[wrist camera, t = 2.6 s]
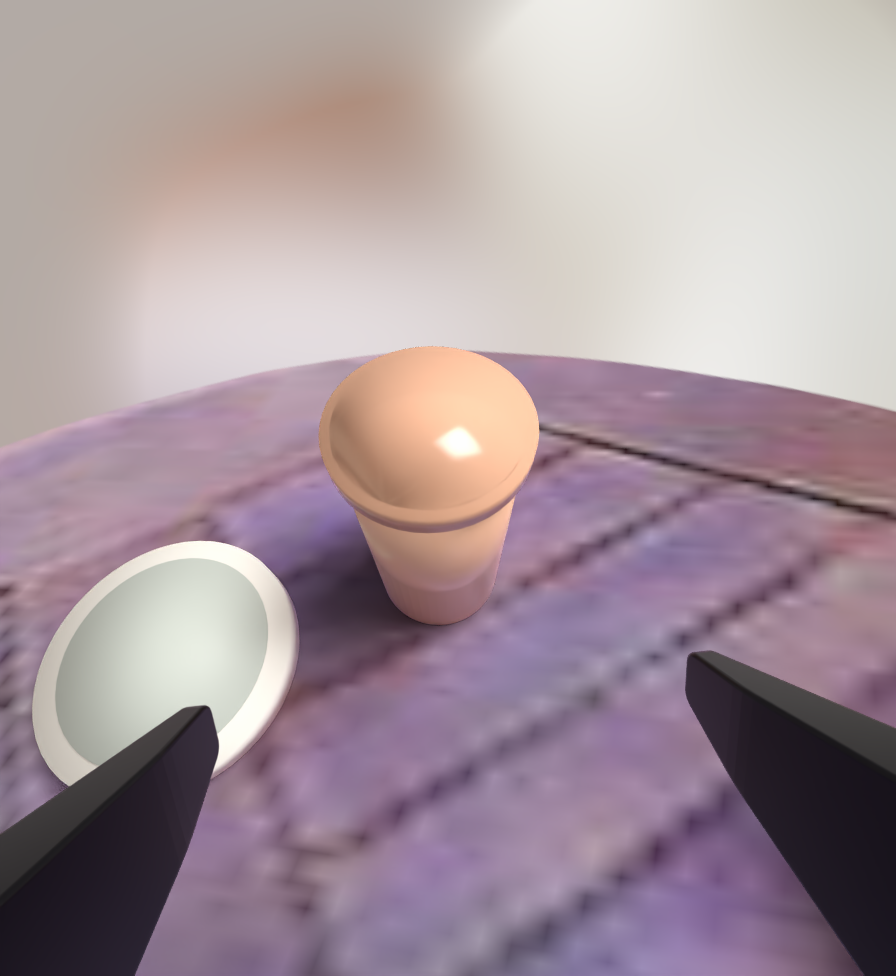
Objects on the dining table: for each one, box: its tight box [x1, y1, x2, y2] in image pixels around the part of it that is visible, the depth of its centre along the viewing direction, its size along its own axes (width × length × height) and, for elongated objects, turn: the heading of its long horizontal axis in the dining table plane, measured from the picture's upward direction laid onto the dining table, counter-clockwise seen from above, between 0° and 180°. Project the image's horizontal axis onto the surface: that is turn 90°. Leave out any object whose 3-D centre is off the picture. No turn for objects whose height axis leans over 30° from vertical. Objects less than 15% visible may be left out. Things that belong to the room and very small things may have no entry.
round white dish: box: [32, 541, 300, 786], centre depth 21 cm, size 11×11×2 cm
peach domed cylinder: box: [319, 346, 539, 625], centre depth 19 cm, size 7×7×12 cm
